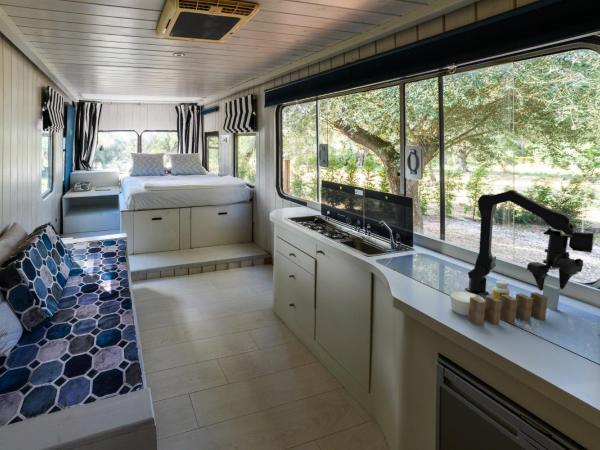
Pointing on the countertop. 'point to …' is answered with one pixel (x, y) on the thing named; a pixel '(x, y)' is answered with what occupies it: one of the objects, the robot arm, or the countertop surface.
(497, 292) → the supplement bottle
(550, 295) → the block
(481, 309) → the tile
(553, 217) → the robot arm
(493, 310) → the tile
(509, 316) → the brown wooden block
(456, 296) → the ramekin
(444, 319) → the countertop surface
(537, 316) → the brown rectangular block
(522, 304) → the brown rectangular block
